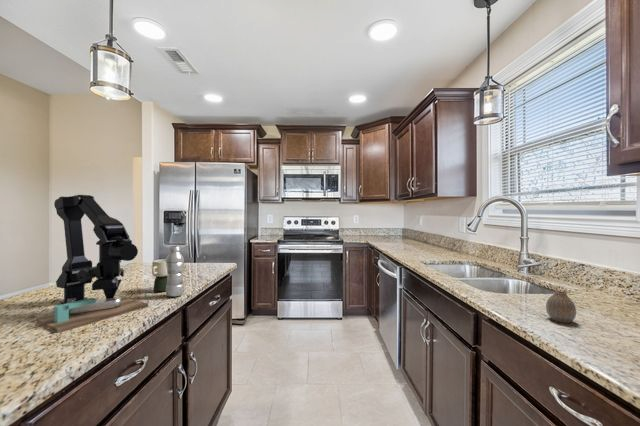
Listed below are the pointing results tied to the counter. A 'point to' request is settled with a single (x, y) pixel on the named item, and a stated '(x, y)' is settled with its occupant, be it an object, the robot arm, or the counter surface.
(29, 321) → the counter surface
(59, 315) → the keeper
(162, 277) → the character mug
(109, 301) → the link
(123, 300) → the board
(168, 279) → the plastic bottle
